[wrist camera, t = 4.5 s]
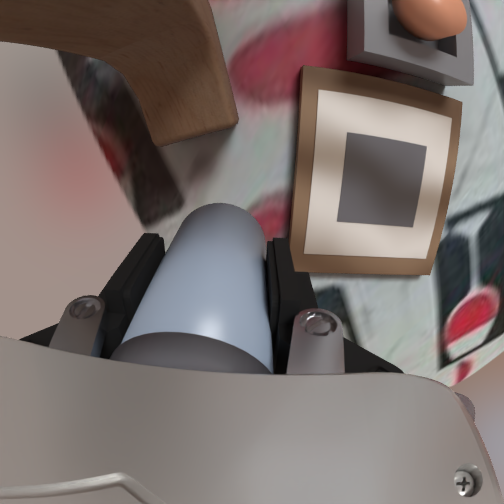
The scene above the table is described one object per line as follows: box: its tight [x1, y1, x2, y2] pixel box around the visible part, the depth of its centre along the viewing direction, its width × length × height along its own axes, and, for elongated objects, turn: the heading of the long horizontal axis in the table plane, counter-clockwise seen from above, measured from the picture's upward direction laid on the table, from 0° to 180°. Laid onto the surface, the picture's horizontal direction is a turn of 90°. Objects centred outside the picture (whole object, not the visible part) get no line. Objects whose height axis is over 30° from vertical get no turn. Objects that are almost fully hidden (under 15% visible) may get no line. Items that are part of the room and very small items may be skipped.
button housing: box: [347, 0, 474, 86], centre depth 13 cm, size 8×8×4 cm
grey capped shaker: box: [110, 203, 274, 374], centre depth 9 cm, size 4×4×10 cm
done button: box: [392, 0, 467, 41], centre depth 11 cm, size 4×4×2 cm
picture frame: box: [288, 65, 462, 275], centre depth 19 cm, size 14×12×1 cm
